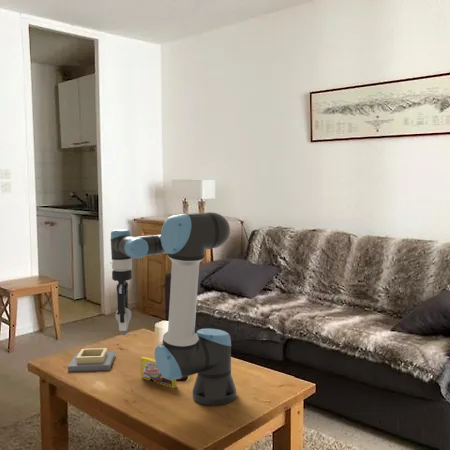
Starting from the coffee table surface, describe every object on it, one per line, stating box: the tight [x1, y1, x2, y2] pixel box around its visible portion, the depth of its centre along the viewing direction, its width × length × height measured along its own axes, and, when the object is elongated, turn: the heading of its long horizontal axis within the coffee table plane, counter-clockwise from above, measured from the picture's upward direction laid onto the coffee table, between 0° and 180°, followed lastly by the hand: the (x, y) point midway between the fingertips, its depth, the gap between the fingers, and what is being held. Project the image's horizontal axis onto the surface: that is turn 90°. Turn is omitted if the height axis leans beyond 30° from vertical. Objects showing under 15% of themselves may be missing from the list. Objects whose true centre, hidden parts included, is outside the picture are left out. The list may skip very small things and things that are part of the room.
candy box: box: [140, 356, 178, 389], centre depth 193 cm, size 16×2×8 cm, turn 54°
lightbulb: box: [115, 308, 132, 336], centre depth 204 cm, size 6×6×11 cm
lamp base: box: [67, 347, 116, 372], centre depth 213 cm, size 16×16×4 cm
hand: (123, 327), depth 204 cm, fingers closed on lightbulb, 6 cm apart
